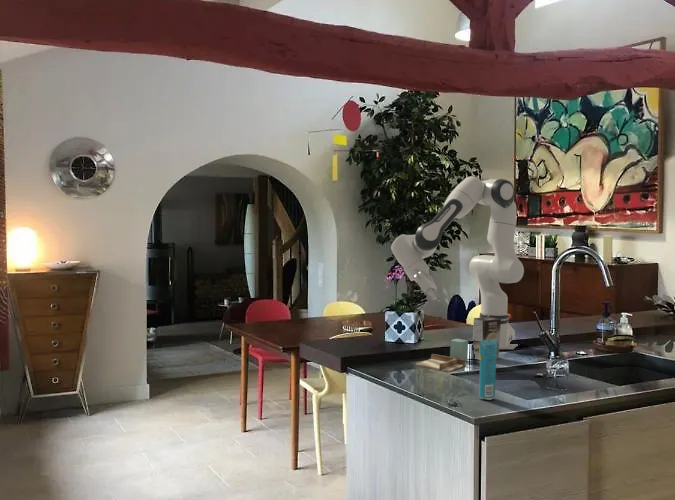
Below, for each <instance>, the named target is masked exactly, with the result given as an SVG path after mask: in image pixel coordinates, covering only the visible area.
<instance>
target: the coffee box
mask: <svg viewBox="0 0 675 500" xmlns="http://www.w3.org/2000/svg"><path fill="white" fill-rule="evenodd" d="M500 325H501V319H498V318H492V317H483V318H479V317H474V318H473V327H472V341H473V343H472V345H473V347H474V354H475V358H474V359H475V360H479V361H480V341H482V340H491V339H497V355H496V360H499V357H500V349H499V343H500ZM472 345H471V346H472Z"/></svg>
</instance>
